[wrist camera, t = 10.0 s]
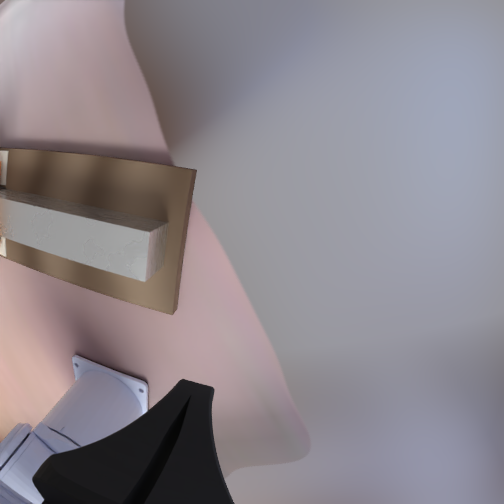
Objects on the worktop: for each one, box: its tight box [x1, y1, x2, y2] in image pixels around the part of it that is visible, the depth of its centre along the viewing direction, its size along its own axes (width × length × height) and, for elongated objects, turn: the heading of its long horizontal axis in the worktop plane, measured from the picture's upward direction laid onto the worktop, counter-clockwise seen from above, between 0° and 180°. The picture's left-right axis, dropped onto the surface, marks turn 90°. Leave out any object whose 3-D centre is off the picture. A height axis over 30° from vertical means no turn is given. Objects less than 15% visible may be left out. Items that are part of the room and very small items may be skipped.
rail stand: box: [0, 148, 197, 315], centre depth 19 cm, size 26×10×4 cm, turn 79°
